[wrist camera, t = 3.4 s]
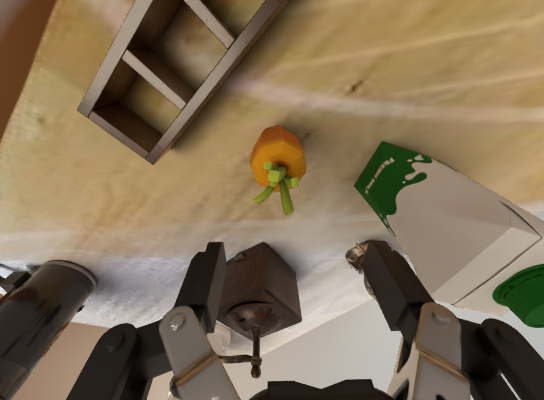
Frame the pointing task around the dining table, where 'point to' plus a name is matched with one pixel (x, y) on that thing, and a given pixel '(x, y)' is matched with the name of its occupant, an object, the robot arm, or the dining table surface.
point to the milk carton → (458, 234)
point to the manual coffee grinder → (256, 301)
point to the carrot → (278, 164)
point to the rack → (162, 72)
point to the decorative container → (215, 344)
